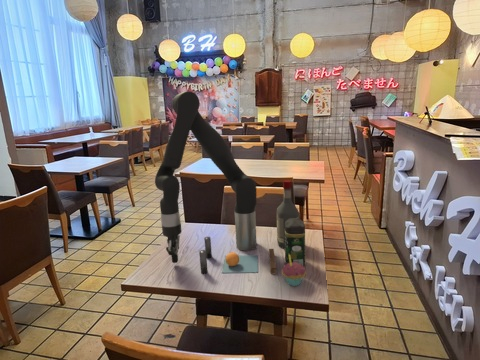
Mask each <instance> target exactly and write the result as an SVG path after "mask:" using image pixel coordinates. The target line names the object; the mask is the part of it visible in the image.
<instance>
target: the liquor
mask: <svg viewBox="0 0 480 360" xmlns="http://www.w3.org/2000/svg"><path fill="white" fill-rule="evenodd" d="M282 189H283V199H282V202H281V203H280V205H278V207H277V208H276V240H277V244H278V248H281V249H284V250H285V222H286V221H287V220H288V219H289V218H299V219H300V212H299V209H298V208H297V206H296V205H295V204H294V203H293V200H292V180H291V179H284V180H282Z"/></svg>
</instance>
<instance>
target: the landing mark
mask: <svg viewBox="0 0 480 360" xmlns="http://www.w3.org/2000/svg"><path fill="white" fill-rule="evenodd" d="M237 255H238V256H239V263H238V264H237V265H236V266H229V265H228V264H227V263H226V256H227V255H224V259H223V263H222V270H221V274H251V273H252V274H253V273H258V272H259V268H258V267H259V266H258V265H259V261H258V260H259V259H258V256H259V255H258V254H245V255H242V254H241V255H239V254H237Z"/></svg>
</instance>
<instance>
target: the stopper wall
mask: <svg viewBox="0 0 480 360" xmlns="http://www.w3.org/2000/svg"><path fill="white" fill-rule="evenodd" d="M268 255H269V257H268V258H269V266H270V267H269V268H270V274H271V275H273V274H274V275H275V274H276V275H277V265H276V257H275V249H274V248H268Z"/></svg>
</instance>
